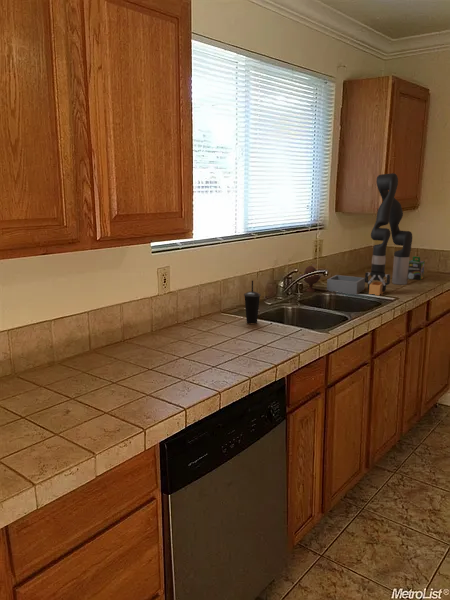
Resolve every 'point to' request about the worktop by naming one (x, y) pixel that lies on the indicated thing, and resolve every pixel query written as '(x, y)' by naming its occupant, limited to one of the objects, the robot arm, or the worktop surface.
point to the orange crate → (376, 288)
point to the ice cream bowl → (311, 278)
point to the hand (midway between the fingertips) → (376, 290)
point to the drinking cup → (252, 305)
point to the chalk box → (416, 269)
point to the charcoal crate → (346, 284)
